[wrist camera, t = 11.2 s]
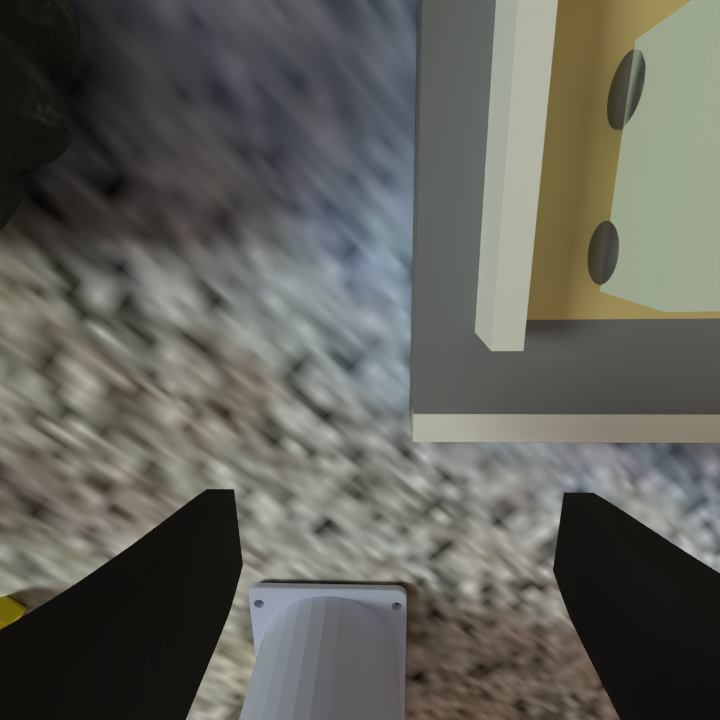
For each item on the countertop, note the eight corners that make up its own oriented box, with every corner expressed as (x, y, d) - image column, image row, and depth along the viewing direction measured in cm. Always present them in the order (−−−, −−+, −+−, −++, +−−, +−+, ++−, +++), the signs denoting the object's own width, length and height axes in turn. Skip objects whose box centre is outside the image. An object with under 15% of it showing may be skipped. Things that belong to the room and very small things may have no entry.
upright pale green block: (713, 284, 15) (847, 309, 11) (583, 286, 15) (664, 311, 11) (763, 49, 13) (956, -37, 9) (613, 55, 13) (728, -26, 9)
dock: (782, 420, 19) (900, 478, 15) (409, 419, 20) (418, 474, 15) (939, -112, 14) (1198, -265, 9) (419, -87, 14) (436, -219, 10)
